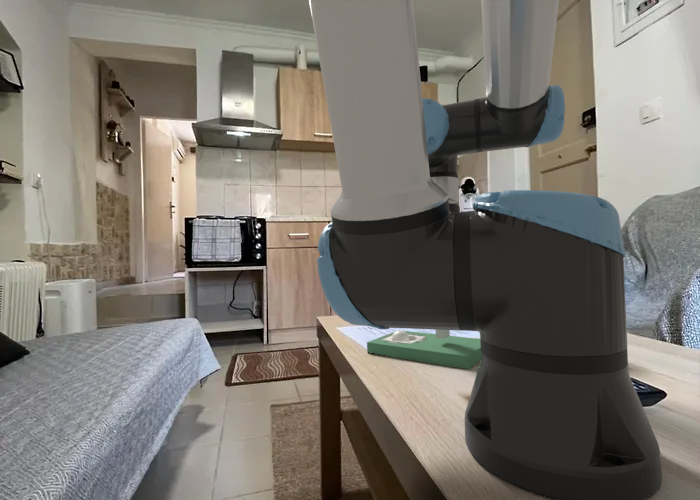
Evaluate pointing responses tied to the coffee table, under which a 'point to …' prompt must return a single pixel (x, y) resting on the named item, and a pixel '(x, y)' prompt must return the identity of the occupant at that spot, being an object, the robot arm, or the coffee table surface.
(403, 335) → the ball
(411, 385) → the coffee table surface
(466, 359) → the putting strip
